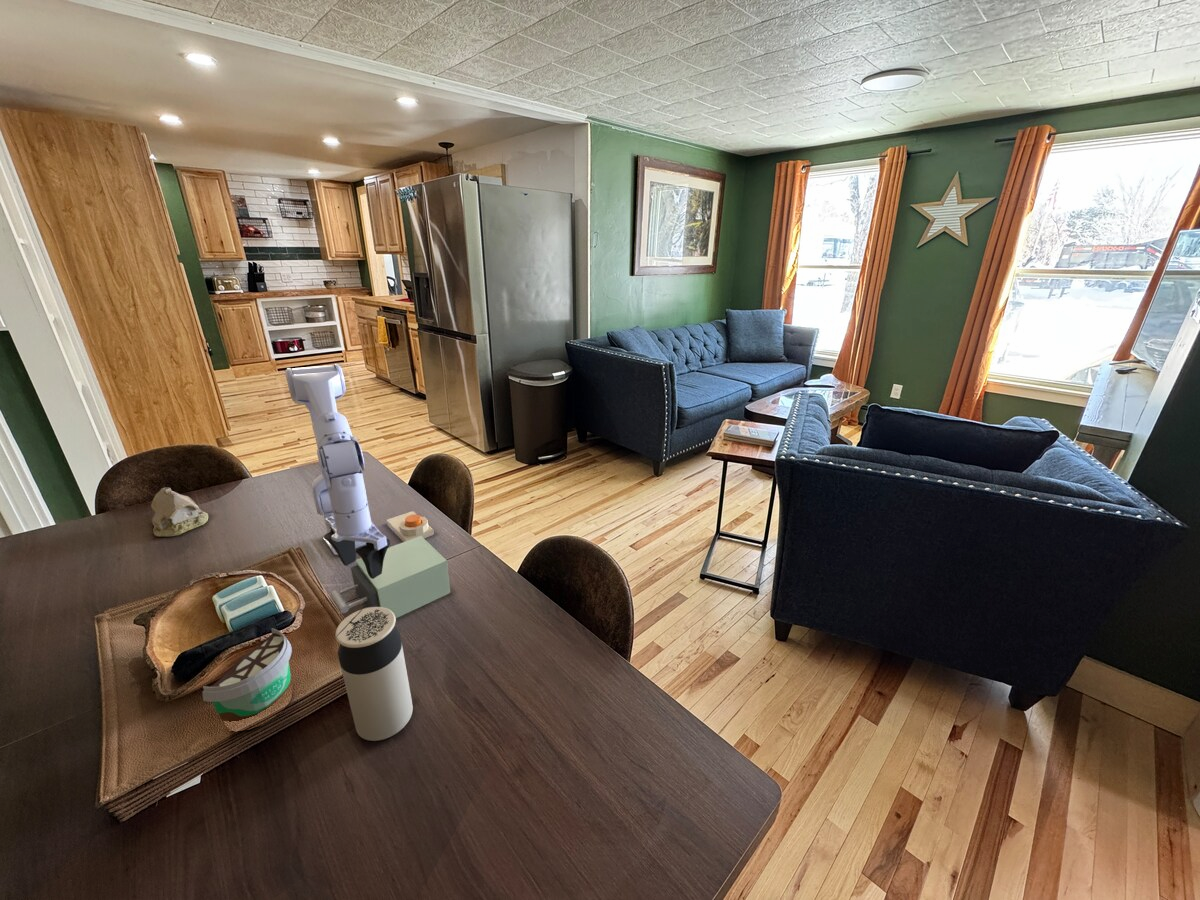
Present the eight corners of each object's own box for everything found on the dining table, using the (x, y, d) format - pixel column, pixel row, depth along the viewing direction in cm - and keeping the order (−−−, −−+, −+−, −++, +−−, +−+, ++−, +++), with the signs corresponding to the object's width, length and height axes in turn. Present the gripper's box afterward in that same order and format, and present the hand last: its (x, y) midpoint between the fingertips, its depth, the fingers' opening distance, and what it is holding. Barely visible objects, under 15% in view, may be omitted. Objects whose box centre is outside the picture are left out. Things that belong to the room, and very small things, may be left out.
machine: (383, 624, 90) (377, 589, 86) (361, 592, 98) (355, 559, 95) (450, 592, 98) (446, 560, 95) (425, 566, 106) (421, 535, 103)
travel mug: (424, 703, 74) (409, 613, 67) (387, 750, 67) (367, 653, 60) (383, 688, 76) (364, 599, 69) (343, 732, 69) (319, 637, 62)
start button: (403, 523, 117) (402, 517, 116) (417, 518, 119) (416, 512, 119) (409, 529, 114) (408, 523, 114) (423, 524, 117) (423, 518, 116)
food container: (256, 750, 66) (237, 698, 63) (219, 741, 68) (198, 689, 64) (320, 679, 78) (308, 632, 74) (288, 672, 79) (274, 625, 75)
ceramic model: (217, 522, 121) (205, 487, 117) (161, 542, 112) (147, 505, 108) (194, 506, 128) (182, 473, 124) (140, 524, 119) (126, 489, 115)
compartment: (348, 633, 86) (342, 606, 83) (330, 603, 93) (324, 577, 91) (438, 592, 97) (435, 567, 94) (415, 568, 104) (412, 544, 102)
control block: (387, 525, 122) (385, 513, 120) (413, 516, 126) (412, 504, 125) (406, 545, 114) (404, 533, 112) (434, 535, 118) (432, 523, 117)
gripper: (303, 504, 84) (318, 568, 89) (356, 527, 78) (369, 594, 83) (340, 489, 90) (352, 549, 95) (392, 509, 84) (402, 572, 89)
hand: (362, 569), depth 89 cm, fingers open, 7 cm apart
